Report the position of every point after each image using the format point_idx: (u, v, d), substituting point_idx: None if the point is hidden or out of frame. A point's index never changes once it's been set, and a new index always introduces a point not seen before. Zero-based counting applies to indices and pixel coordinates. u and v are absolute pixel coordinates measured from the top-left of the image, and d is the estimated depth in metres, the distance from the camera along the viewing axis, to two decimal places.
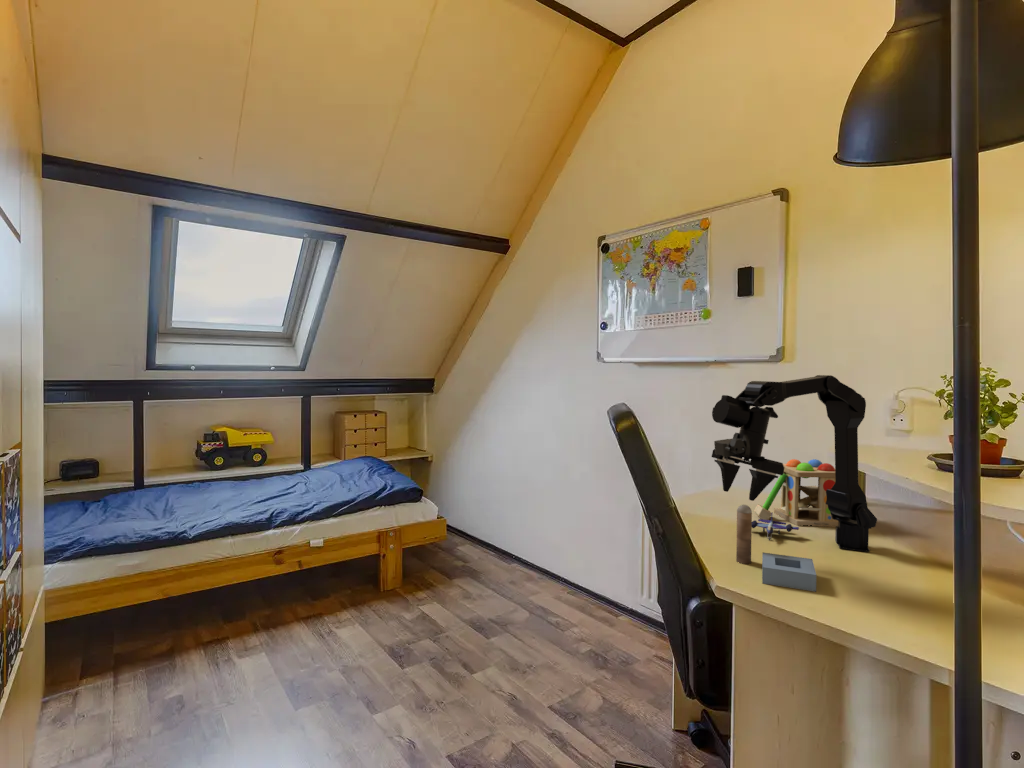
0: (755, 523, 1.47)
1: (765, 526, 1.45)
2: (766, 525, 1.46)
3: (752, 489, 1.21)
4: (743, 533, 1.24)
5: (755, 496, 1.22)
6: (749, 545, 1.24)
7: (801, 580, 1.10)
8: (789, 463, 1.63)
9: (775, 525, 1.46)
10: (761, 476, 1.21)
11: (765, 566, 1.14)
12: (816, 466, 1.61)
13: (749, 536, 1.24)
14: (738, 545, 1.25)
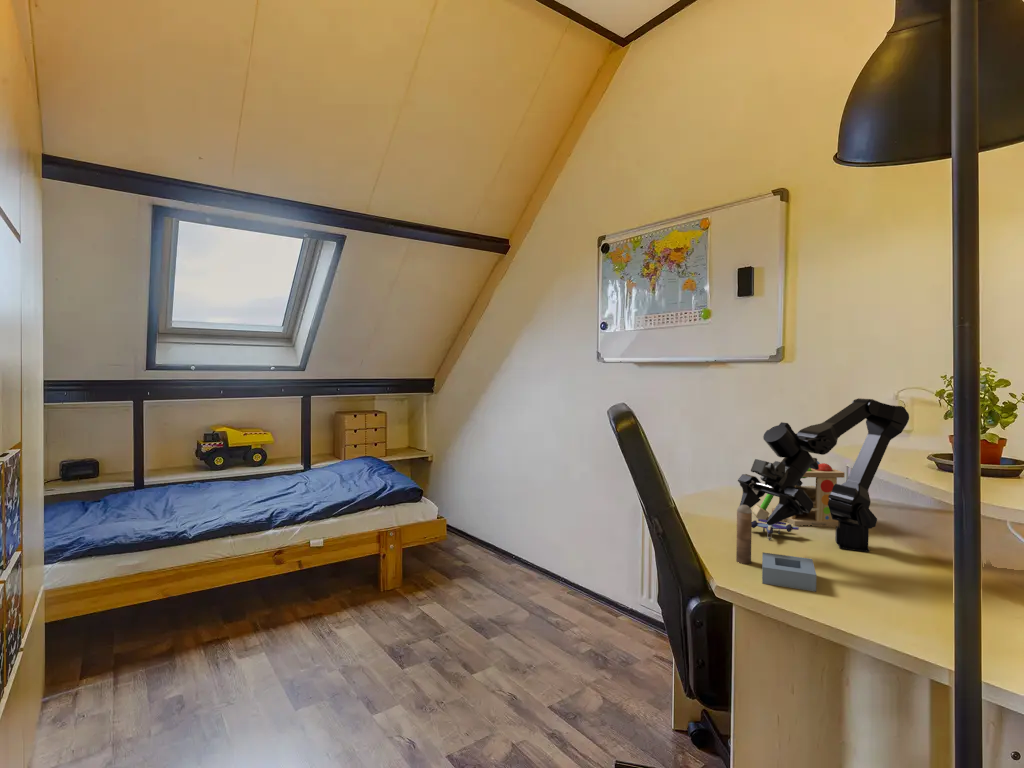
0: (755, 523, 1.47)
1: (765, 526, 1.45)
2: (766, 525, 1.46)
3: (774, 513, 1.22)
4: (743, 533, 1.24)
5: (773, 522, 1.22)
6: (749, 545, 1.24)
7: (801, 580, 1.10)
8: None
9: (775, 525, 1.45)
10: (787, 506, 1.22)
11: (765, 566, 1.14)
12: None
13: (750, 536, 1.24)
14: (738, 545, 1.25)
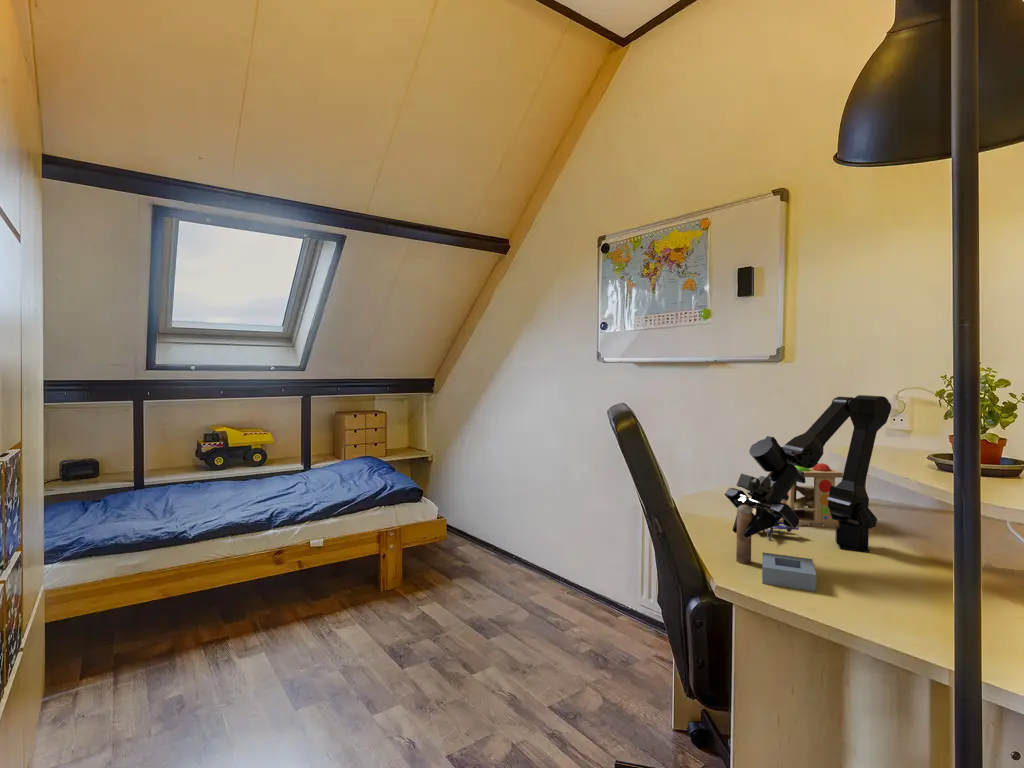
0: None
1: None
2: None
3: (750, 526, 1.23)
4: (743, 533, 1.24)
5: (750, 534, 1.23)
6: (749, 545, 1.24)
7: (801, 580, 1.10)
8: None
9: None
10: (763, 518, 1.24)
11: (765, 566, 1.14)
12: None
13: (749, 536, 1.24)
14: (738, 545, 1.25)
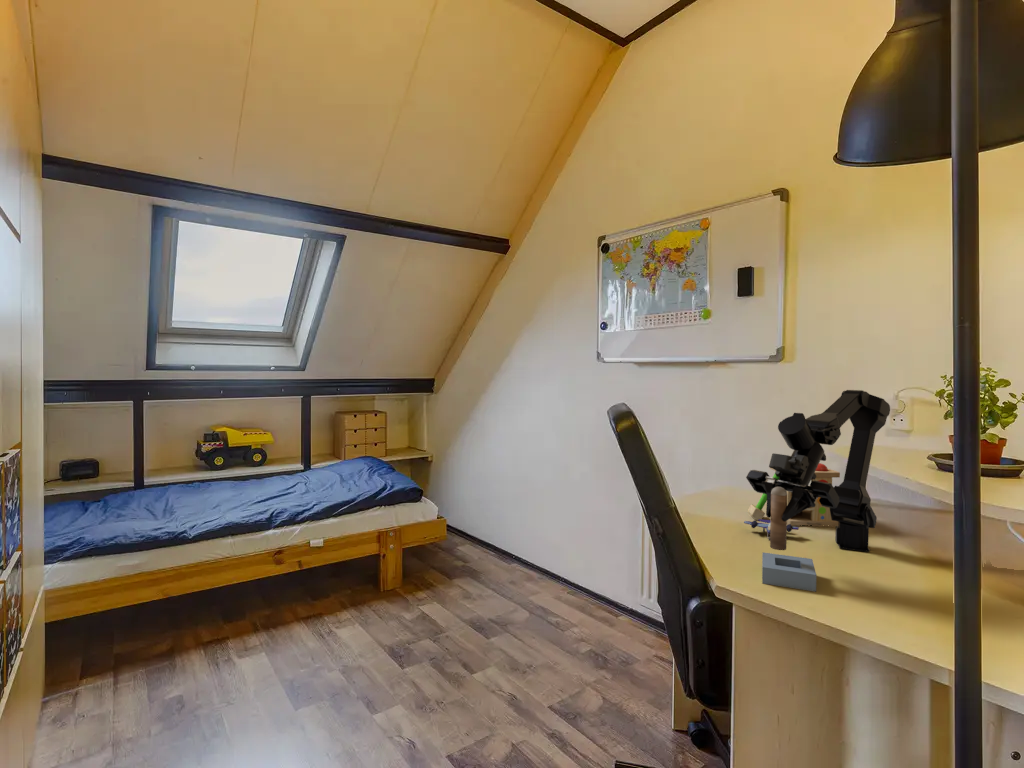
0: (755, 523, 1.47)
1: (765, 526, 1.45)
2: (766, 525, 1.46)
3: (789, 508, 1.15)
4: (780, 517, 1.16)
5: (788, 517, 1.15)
6: (785, 529, 1.16)
7: (801, 580, 1.10)
8: None
9: None
10: (799, 500, 1.16)
11: (765, 566, 1.14)
12: None
13: None
14: (774, 530, 1.16)
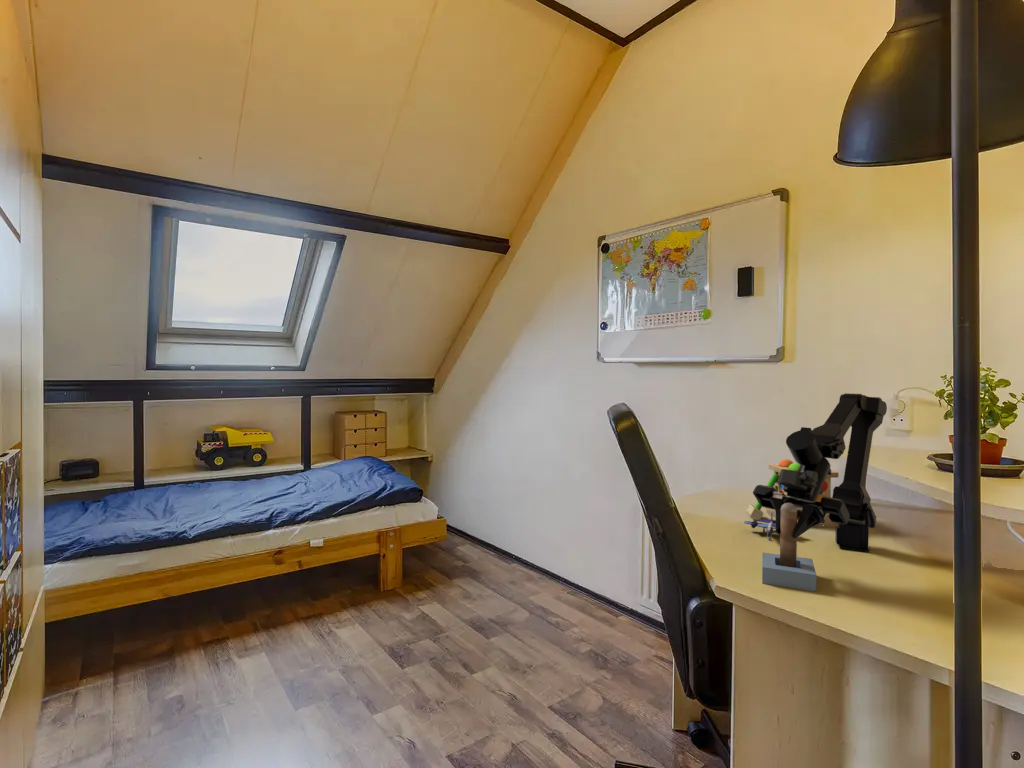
0: (755, 523, 1.47)
1: (765, 526, 1.45)
2: (766, 525, 1.46)
3: (799, 525, 1.13)
4: (790, 534, 1.14)
5: (798, 534, 1.13)
6: (796, 546, 1.14)
7: (801, 580, 1.10)
8: (781, 463, 1.63)
9: (775, 525, 1.45)
10: (809, 516, 1.15)
11: (765, 566, 1.14)
12: None
13: None
14: (784, 547, 1.15)
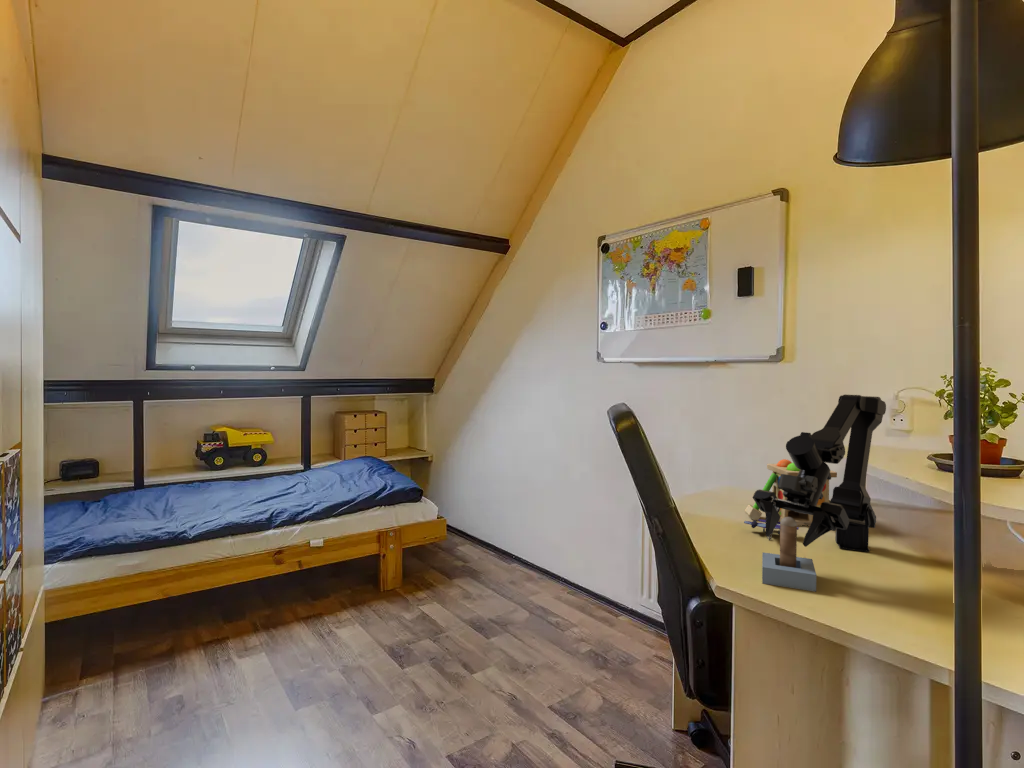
0: (755, 523, 1.47)
1: (765, 526, 1.45)
2: None
3: (810, 533, 1.11)
4: (790, 548, 1.14)
5: (809, 542, 1.12)
6: (795, 560, 1.14)
7: (801, 580, 1.10)
8: (780, 463, 1.63)
9: None
10: (819, 523, 1.13)
11: (765, 566, 1.14)
12: None
13: (796, 550, 1.14)
14: (784, 562, 1.15)
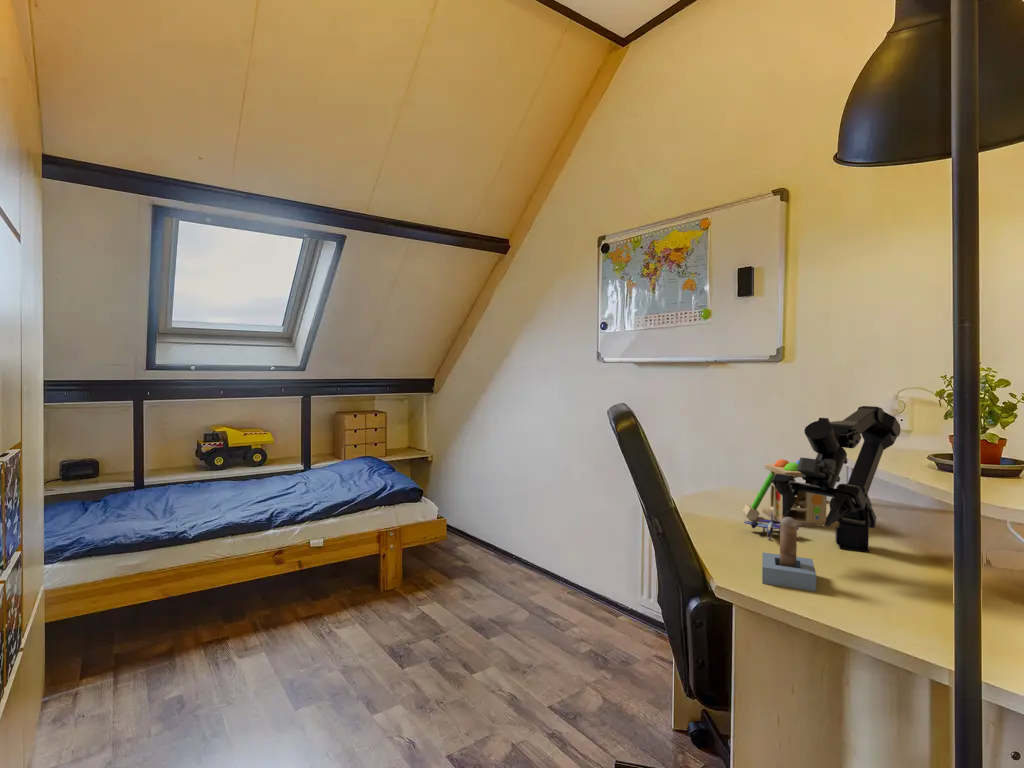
0: (755, 523, 1.47)
1: (765, 526, 1.45)
2: (766, 525, 1.46)
3: (832, 514, 1.16)
4: (790, 548, 1.14)
5: (831, 522, 1.16)
6: (795, 560, 1.14)
7: (801, 580, 1.10)
8: (777, 463, 1.63)
9: (775, 525, 1.45)
10: (841, 505, 1.18)
11: (765, 566, 1.14)
12: None
13: None
14: (784, 562, 1.15)
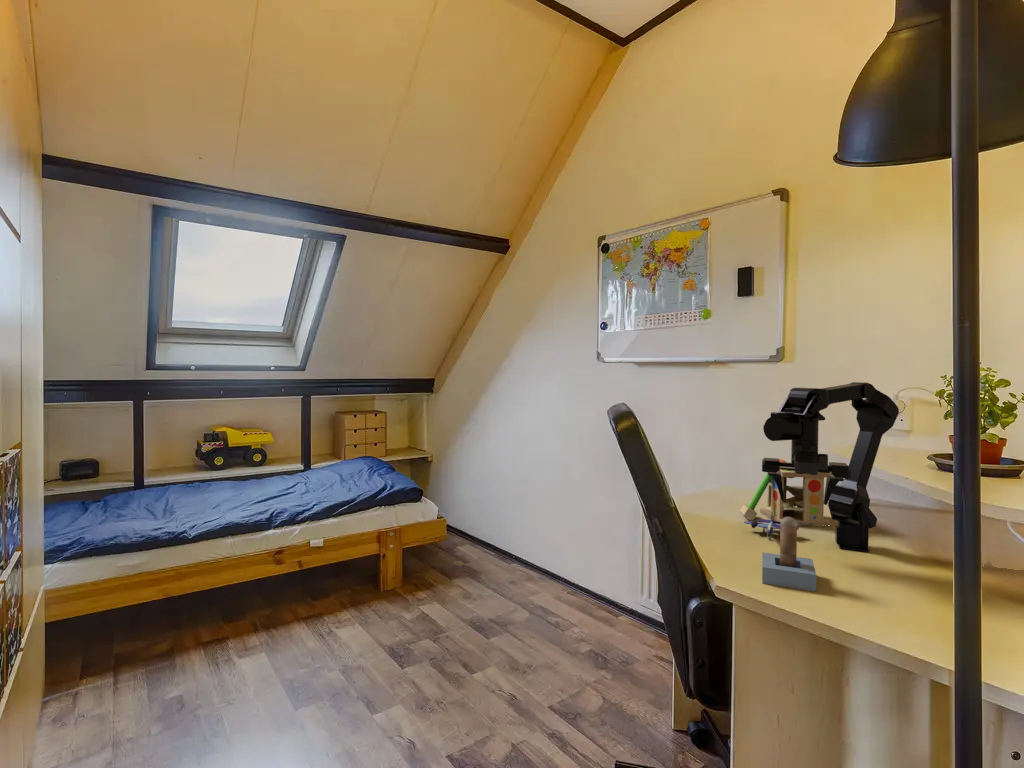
0: (755, 523, 1.47)
1: (765, 526, 1.45)
2: (766, 525, 1.46)
3: (829, 495, 1.27)
4: (790, 548, 1.14)
5: (827, 499, 1.28)
6: (795, 560, 1.14)
7: (801, 580, 1.10)
8: None
9: (775, 525, 1.45)
10: None
11: (765, 566, 1.14)
12: None
13: (796, 550, 1.14)
14: (784, 561, 1.15)
